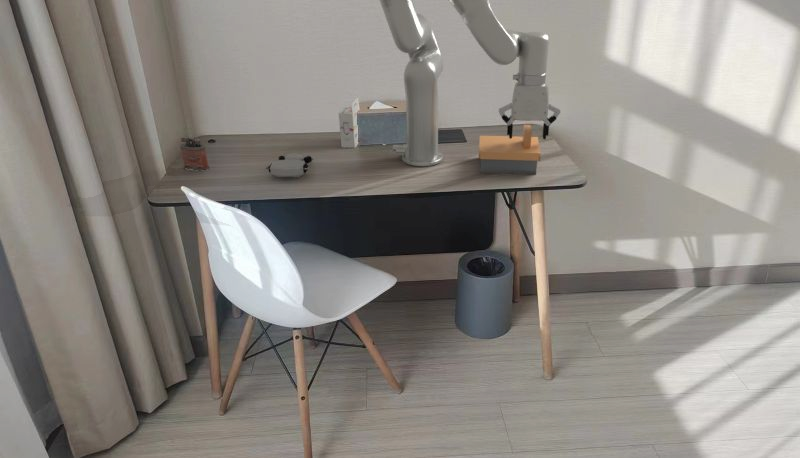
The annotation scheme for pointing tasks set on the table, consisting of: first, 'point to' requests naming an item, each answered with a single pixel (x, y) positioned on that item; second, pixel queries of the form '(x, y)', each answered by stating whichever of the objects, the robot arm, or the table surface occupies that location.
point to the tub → (508, 166)
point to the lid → (510, 147)
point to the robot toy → (290, 166)
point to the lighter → (194, 154)
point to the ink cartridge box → (349, 125)
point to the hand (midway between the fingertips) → (527, 137)
